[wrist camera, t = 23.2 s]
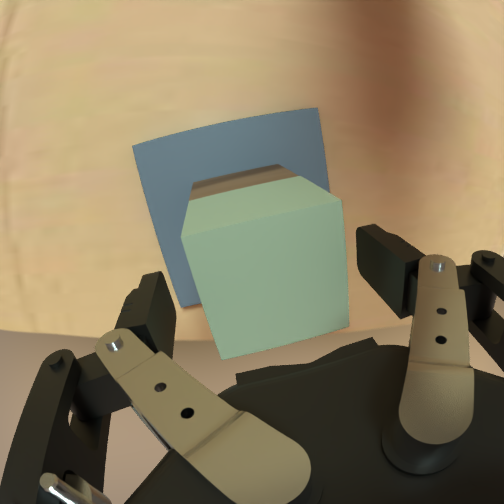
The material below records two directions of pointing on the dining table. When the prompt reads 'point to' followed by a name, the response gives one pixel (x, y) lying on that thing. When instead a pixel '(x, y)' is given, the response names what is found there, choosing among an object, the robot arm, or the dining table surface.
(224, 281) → the sage green block
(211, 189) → the walnut block
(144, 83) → the dining table surface
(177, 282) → the base board
